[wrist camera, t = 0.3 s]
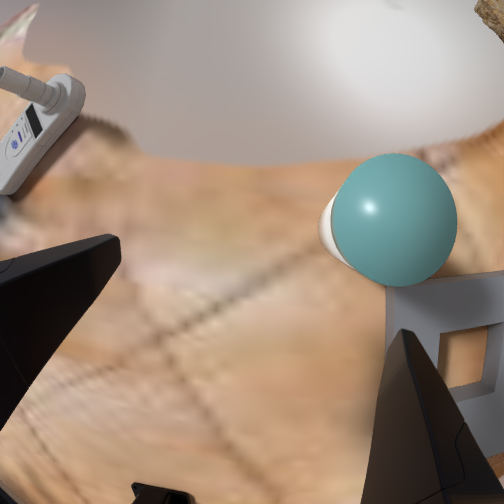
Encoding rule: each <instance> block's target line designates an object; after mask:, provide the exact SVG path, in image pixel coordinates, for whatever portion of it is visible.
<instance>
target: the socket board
mask: <svg viewBox="0 0 504 504" xmlns="http://www.w3.org/2000/svg"><path fill="white" fill-rule="evenodd" d="M485 325H489V326H488V336H487V346H486V354H485V361H484V368H483V374H482V380H481V381H480V382H476V383H472V384H467V385H463V386H459V387H454V388H449V389H448V390H449V391H450V393H451V395H452V397H453V399H454V400H455V402H456V404H457V406H458V408H459V410H460V412H461V413H462V415H463V417H464V419H465V421H464V422H466V423H467V425H468V427H469V429H470V430H471V432H472V434H473V436H474V438H475V440H476V442H477V444H478V446H479V447H480V449H481V451H482V452H483V454H484V456H485V458H489V457H491V456H494V455H497V454H500V453H502V452H504V270H502V271H494V272H486V273H478V274H469V275H460V276H451V277H441V278H432V279H426V280H424V281H422V282H420V283H417V284H414V285H410V286H404V287H394V286H387V285H386V337H385V358H386V353H387V350H388V348H389V346H390V344H391V343H392V341H393V339H394V338H395V336H396V334H397V332H398V331H399V330H400V329H402V328H404V329H407V330H411V331H413V332H414V333H415V334H416V336H417V337H418V339H419V341H420V342H421V344H422V345H423V347H424V349H425V350H426V352H427V354H428V355H429V357H430V359H431V360H432V362H433V364H434V365H435V367H436V369H437V363H438V353H439V340H440V333H444V332H450V331H457V330H463V329H468V328H474V327H479V326H485Z"/></svg>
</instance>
